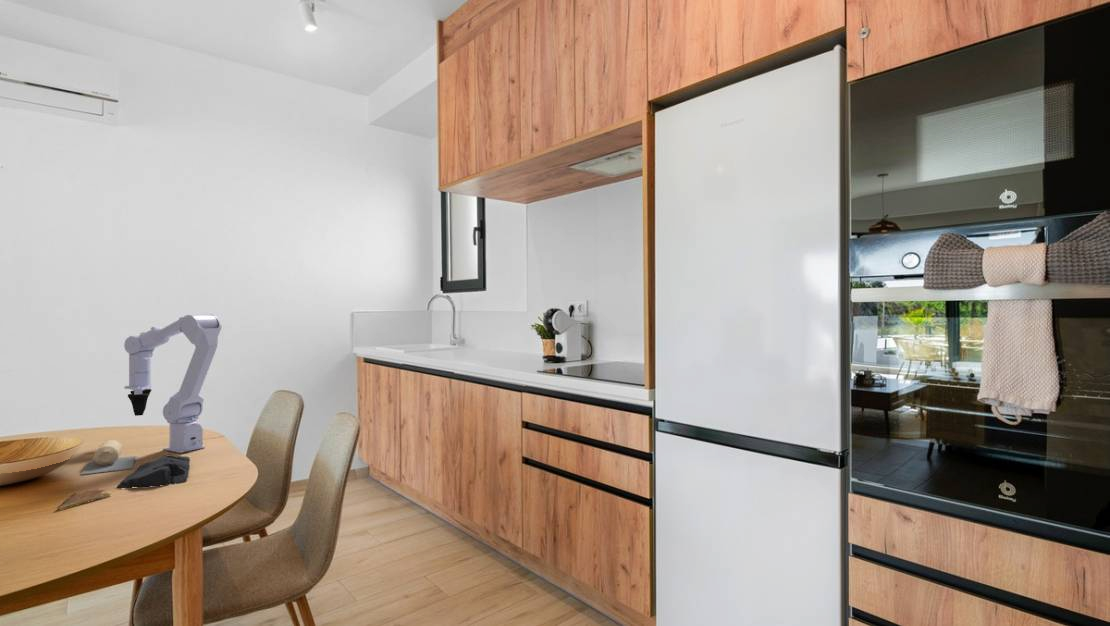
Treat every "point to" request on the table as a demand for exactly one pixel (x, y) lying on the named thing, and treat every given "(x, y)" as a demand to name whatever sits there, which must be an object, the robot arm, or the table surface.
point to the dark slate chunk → (159, 472)
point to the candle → (108, 452)
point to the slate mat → (109, 466)
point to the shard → (84, 497)
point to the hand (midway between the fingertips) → (139, 413)
